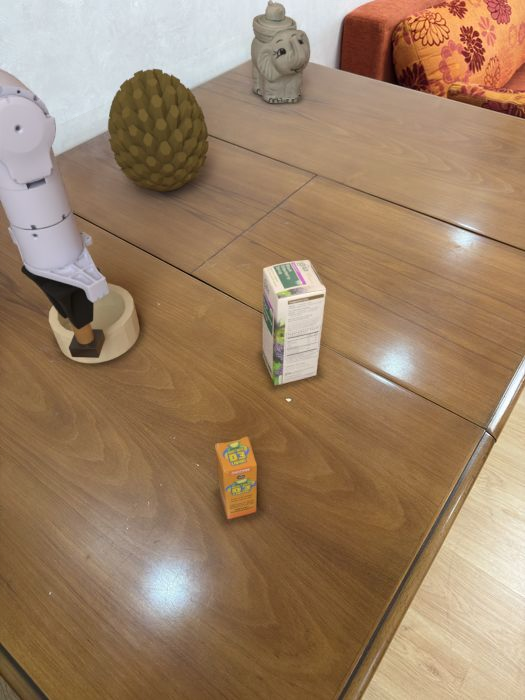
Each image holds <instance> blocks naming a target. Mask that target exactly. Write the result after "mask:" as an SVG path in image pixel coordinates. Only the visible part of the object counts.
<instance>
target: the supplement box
mask: <svg viewBox="0 0 525 700" xmlns="http://www.w3.org/2000/svg"><path fill="white" fill-rule="evenodd" d="M214 449H215V456H216V465H217V473H218V475H217V476H218V484H219V496H220V498H221V503H222V505H223V509H224V512H225V516H226V518H227V520H231V519H236V518H239V517H242V516H246V515H247V516H248V515H250V514H253V513H257V502H258V501H257V500H258V499H257V498H258V497H257V496H258V495H257V494H258V487H257V486H258V481H257V480H258V466H257V465H258V464H257V461H256V458H255V454H254V450H253V447H252V443H251V439H250V438H249V437H248V436H244V437H241V438H240V439H235V440H232V441H227V442H218V443H215V444H214Z"/></svg>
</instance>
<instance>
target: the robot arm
mask: <svg viewBox="0 0 525 700" xmlns="http://www.w3.org/2000/svg"><path fill="white" fill-rule="evenodd" d="M56 134H57V123H56V118H55V117H54V116H51V114H50V112H49V110H48V108H47V106H46V104H45V103H44V101H42V99H41V98H40V97H38V95H36V93H34V92H33V91H32V90H31V89H30V88H29V87H28V86H26V84H24V83H23V82H22V81H21V80H20V79H19V78H18V77H16V75H14V74H12V73H10V72H8V71H7V70H4V69H1V68H0V203H1V206H2V207H3V210H4V213H5V215H6V217H7V220H8V224H9V225H10V226H9V227H7V231H8V233H9V235H10V237H11V240H12V241H13V244H14V245H16V246H17V249H18V252H19V254H20V258H21V261H22V263H23V265H22V267H21V269H20V271H21V273H22V274H23V275H24V276H25V277H27V278H28V279H30V280H31V281H32V282H33V283H35V285H36V286H37V287H38V288H39V289H40V290H41V291H42V292H43V294H44V295H45V297H46V298H47V299H48V300H49V302H50V303H51V305H52V306H54V307H55V309H56V310H57V311H58V313H59V314H60V315H61V316H62V317H63V318H64V319H66V318H68V319H69V320H70V322H71V323H72V324H73V325H74V327H76V328H77V329H81V328H83V327H84V326H86V325H87V324H89V323H91V322H92V321H93V310H94V302H95V301H97V300H98V299H100V298H102V297H104V296H105V295H107V294H108V293H110V292H109V288H108V285H107V283H108V282H107V278H106V276H104V275H103V274H102V273H101V270H100V268H99V267H97V266H96V264H95V262H94V260H93V258H92V256H91V253H90V252H89V250H88V248H89V247H90V246H92V245H93V244H94V241H93V237H92V235H90V234H87V232H85V231H79V228H78V224H77V221H76V218H75V215H74V211H73V208H72V204H71V201H70V197H69V194H68V192H67V188H66V184H65V182H64V178H63V174H62V171H61V168H60V164H59V162H58V160H57V158H56V156H55V152H54V150H53V149H54V148H53V144H54V142H55V139H56V136H57V135H56Z"/></svg>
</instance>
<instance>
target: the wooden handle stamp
mask: <svg viewBox="0 0 525 700" xmlns="http://www.w3.org/2000/svg"><path fill="white" fill-rule="evenodd" d="M69 321H70V320H69ZM70 323H71V322H70ZM71 326H72V329H73V331H74V336H73V338H72V341H71V343H70V346H69V350H70V353H71V356H72V357H84V358H99V356H100V353H101V350H102V347H103V344H104V341H105V336H104V333H103V330H102V329H92V328H91V325H90V323H89V324H87V325H86V326H84V327H83V328H81V329H77V328H76V327H74V325H73V324H72V323H71Z"/></svg>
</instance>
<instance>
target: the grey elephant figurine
mask: <svg viewBox="0 0 525 700" xmlns="http://www.w3.org/2000/svg"><path fill="white" fill-rule="evenodd" d="M297 28H298V27H297V22H296V20H294V19H293V18H292V17H290V16H286V8H285V6H284V5H283V4H282V3H279V2H277V1H274V2H273V0H268V2H267V6H266V8H265V13H262V14H258V15H256V16H254V17H253V19H252V31H253V35H254V37H253V39H252V41H251V45H250V56H251V61H252V69H251V77H252V80H253V81H252V91H253V92H254V93H255V94H257V95H259V96H262V99H263V100H264V101H266V102H267V103H270V104H282V103H297V102H298V101H299V100H300V99H301V87H302V85H303V71H304V70H305V69H306V68H307V67H308V64H309V62H310V59H311V46H310V40H309V36H308V35H307V32H305V31H304V30H302V29H297ZM260 92H261V93H260ZM298 95H300V96H299V97H298ZM296 97H297V98H296ZM283 98H295V99H283ZM268 99H269V100H268ZM278 99H281V100H278Z"/></svg>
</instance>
